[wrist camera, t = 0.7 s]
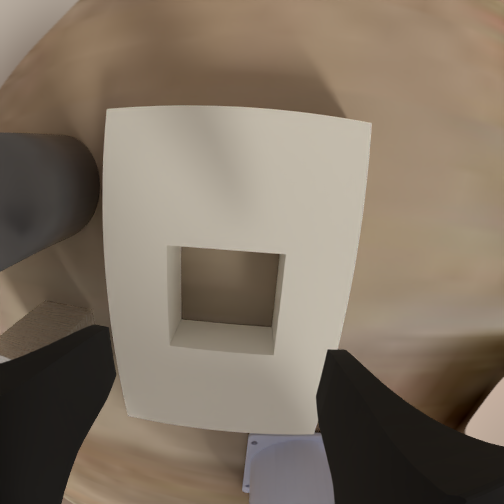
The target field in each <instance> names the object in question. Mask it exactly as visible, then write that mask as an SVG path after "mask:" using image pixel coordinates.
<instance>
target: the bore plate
mask: <svg viewBox="0 0 504 504" xmlns="http://www.w3.org/2000/svg"><path fill="white" fill-rule="evenodd" d="M371 126H372V123H369V122H363V121H358V120H352V119H346V118H340V117H334V116H327V115H320V114H312V113H304V112H296V111H286V110H276V109H264V108H251V107H233V106H199V105H176V106H143V107H125V108H112V109H107V112H106V124H105V137H104V155H103V241H104V259H105V273H106V284H107V295H108V304H109V313H110V321H111V328H112V335H113V342H114V348H115V354H116V360H117V366H118V371H119V376H120V381H121V386H122V391H123V396H124V400H125V405H126V409H127V413H128V416H130V417H135V418H140V419H145V420H150V421H155V422H161V423H166V424H173V425H179V426H186V427H193V428H201V429H209V430H218V431H229V432H242V433H258V434H292V435H304V434H314V432H315V429H316V426H317V423H318V415H317V405H316V394H317V390H318V386H319V382H320V378H321V374H322V370H323V366H324V362H325V358H326V354H327V349H331V350H338V346H339V341H340V337H341V333H342V328H343V324H344V319H345V314H346V310H347V305H348V300H349V295H350V290H351V285H352V279H353V274H354V268H355V262H356V256H357V250H358V244H359V238H360V231H361V224H362V217H363V209H364V201H365V193H366V184H367V175H368V164H369V153H370V141H371ZM181 246H184V247H196V248H209V249H222V250H235V251H248V252H261V253H274V254H280V256H279V265H278V275H277V284H276V293H275V302H274V311H273V319H272V327H263V326H249V325H236V324H225V323H214V322H203V321H194V320H184V319H182V309H181Z"/></svg>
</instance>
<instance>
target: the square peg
mask: <svg viewBox="0 0 504 504" xmlns="http://www.w3.org/2000/svg"><path fill="white" fill-rule="evenodd" d="M93 324H94V325H95V322H94V316H93V309H88V308H83V307H77V306H71V305H66V304H61V303H55V302H50V301H43V302H42V303H41V304H39V305H38V306H37V307H36V308H34V309H33V310H32V311H30V312H29V313H28V314H27V315H25V316H24V317H23V318H21V319H20V320H19V321H18V322H16V323H15V324H14V325H13V326H11V327H10V328H9V329H8V330H7V331H5V332H4V333H3V334H2V335H0V363H3V362H6V361H10V360H13V359H15V358H18V357H21V356H23V355H26V354H28V353H30V352H33V351H35V350H37V349H40V348H42V347H44V346H47V345H49V344H51V343H53V342H55V341H57V340H59V339H61V338H63V337H66V336H68V335H70V334H72V333H74V332H76V331H78V330H81V329H83V328H85V327H88V326H90V325H93Z"/></svg>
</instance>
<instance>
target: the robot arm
mask: <svg viewBox="0 0 504 504" xmlns="http://www.w3.org/2000/svg"><path fill="white" fill-rule="evenodd" d="M115 377H116V370H115V365H114V359H113V353H112V347H111V340H110V333H109V327H104V326H99V325H94V324H93V325H90V326H88V327H85V328H83V329H81V330H78V331H76V332H74V333H72V334H70V335H68V336H66V337H63V338H61V339H59V340H57V341H55V342H53V343H51V344H49V345H47V346H44V347H42V348H40V349H37V350H35V351H33V352H30V353H28V354H26V355H23V356H21V357H18V358H15V359H13V360H10V361H6V362H3V363H0V504H61V503H62V499H63V495H64V491H65V488H66V485H67V481H68V478H69V475H70V472H71V469H72V466H73V464H74V461H75V458H76V456H77V453H78V451H79V449H80V447H81V445H82V443H83V441H84V439H85V437H86V435H87V434H88V432H89V430H90V428H91V426H92V425H93V423H94V421H95V419H96V418H97V416H98V414H99V412H100V411H101V409H102V407H103V405H104V403H105V402H106V400H107V398H108V395H109V393H110V391H111V388H112V385H113V383H114V380H115ZM316 405H317V415H318V423H319V427H320V431H321V433H314V434H304V435H292V434H258V433H250V434H249V435H248V444H247V452H246V461H245V469H244V478H243V486H242V491H243V492H245V493H249V504H504V447H503V446H499V445H495V444H491V443H488V442H484V441H481V440H479V439H476V438H473V437H470V436H468V435H465V434H463V433H460V432H458V431H456V430H454V429H452V428H449V427H447V426H445V425H443V424H441V423H439V422H438V421H436V420H434V419H432V418H430V417H429V416H427V415H426V414H424V413H422V412H421V411H419V410H417V409H416V408H414V407H413V406H411V405H410V404H409V403H407V402H406V401H405V400H403V399H402V398H401V397H399V396H398V395H397V394H395V393H394V392H393V391H392V390H390V389H389V388H388V387H387V386H386V385H384V384H383V383H382V382H381V381H380V380H379V379H377V378H376V377H375V376H374V375H373V374H372V373H371V372H370V371H369V370H367V369H366V368H365V367H364V366H363V365H362V364H361V363H360V362H359V361H358V360H357V359H356V358H354V357H353V356H352V355H351V354H350V353H349V352H348V351H346V350H331V349H327V354H326V358H325V362H324V366H323V370H322V374H321V378H320V382H319V386H318V390H317V394H316ZM254 441H255V442H254Z"/></svg>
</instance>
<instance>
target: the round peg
mask: <svg viewBox="0 0 504 504" xmlns="http://www.w3.org/2000/svg"><path fill="white" fill-rule="evenodd" d="M99 191H100V181H99V173H98V169H97V165H96V163H95V160H94V158H93V156H92V154H91V152H90V151H89V150H88V148H87V147H86V146H85V145H84V144H83V143H82V142H80V141H79V140H77V139H75V138H73V137H70V136H65V135H52V134H32V133H0V272H1V271H2V270H4V269H6V268H8V267H10V266H12V265H14V264H16V263H18V262H19V261H21V260H23V259H25V258H27V257H29V256H31V255H33V254H35V253H37V252H39V251H41V250H43V249H45V248H47V247H49V246H51V245H53V244H55V243H57V242H60V241H62V240H64V239H66V238H68V237H70V236H72V235H74V234H76V233H78V232H79V231H81V230H82V229H83V228H84V227H85V226H86V225H87V224H88V222H89V221H90V220H91V218H92V216H93V214H94V212H95V209H96V207H97V203H98V199H99Z"/></svg>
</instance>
